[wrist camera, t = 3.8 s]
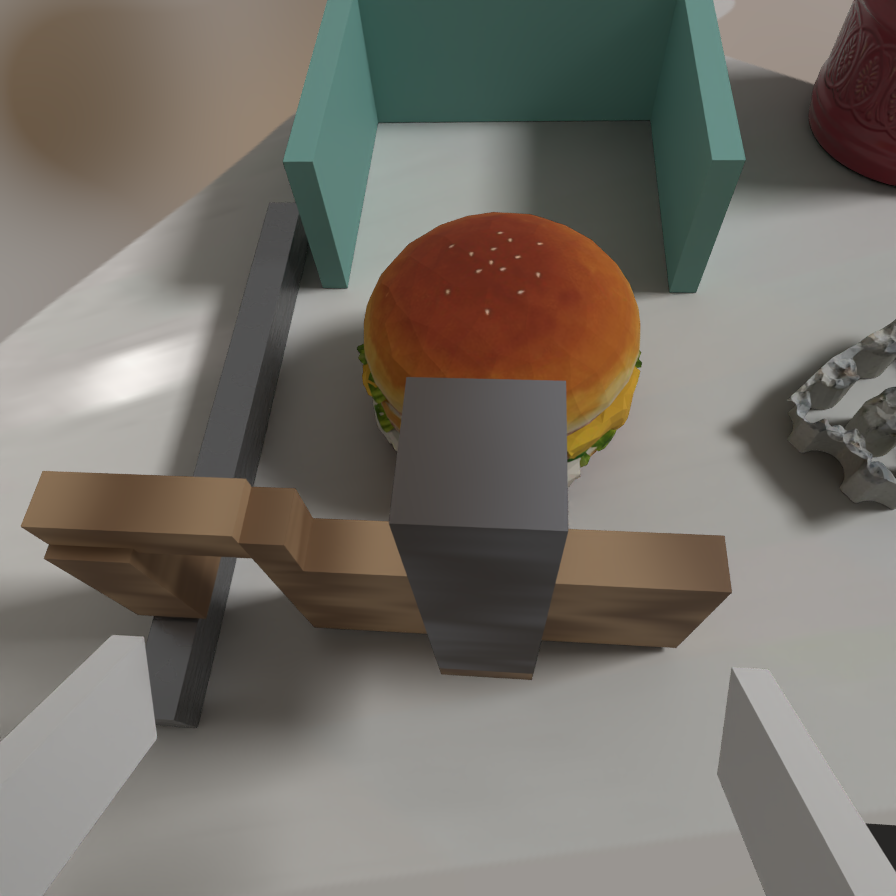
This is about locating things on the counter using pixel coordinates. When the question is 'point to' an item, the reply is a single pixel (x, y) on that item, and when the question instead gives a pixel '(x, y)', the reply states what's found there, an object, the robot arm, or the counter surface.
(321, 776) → the counter surface
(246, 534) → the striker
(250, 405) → the rail
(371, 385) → the burger
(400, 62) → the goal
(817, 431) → the egg carton
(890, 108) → the canister
